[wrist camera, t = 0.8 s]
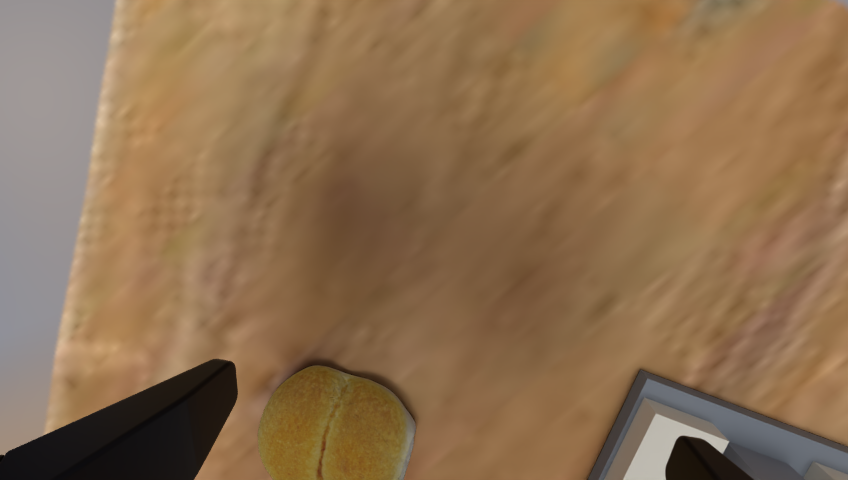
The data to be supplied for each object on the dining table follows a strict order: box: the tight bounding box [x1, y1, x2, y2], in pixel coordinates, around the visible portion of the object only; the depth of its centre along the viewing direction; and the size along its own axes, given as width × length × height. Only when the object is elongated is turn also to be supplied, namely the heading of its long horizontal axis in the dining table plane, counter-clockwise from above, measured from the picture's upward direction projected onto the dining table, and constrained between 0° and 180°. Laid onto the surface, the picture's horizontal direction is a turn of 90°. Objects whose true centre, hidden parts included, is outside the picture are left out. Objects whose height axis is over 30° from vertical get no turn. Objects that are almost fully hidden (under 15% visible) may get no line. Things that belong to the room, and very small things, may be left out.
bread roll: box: [258, 365, 416, 480], centre depth 24 cm, size 8×9×4 cm
